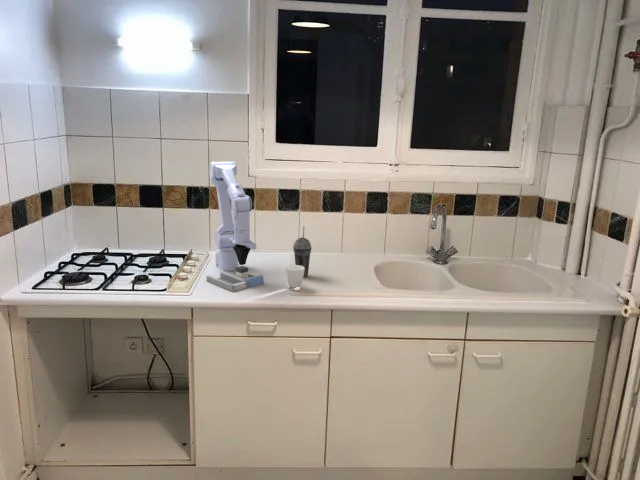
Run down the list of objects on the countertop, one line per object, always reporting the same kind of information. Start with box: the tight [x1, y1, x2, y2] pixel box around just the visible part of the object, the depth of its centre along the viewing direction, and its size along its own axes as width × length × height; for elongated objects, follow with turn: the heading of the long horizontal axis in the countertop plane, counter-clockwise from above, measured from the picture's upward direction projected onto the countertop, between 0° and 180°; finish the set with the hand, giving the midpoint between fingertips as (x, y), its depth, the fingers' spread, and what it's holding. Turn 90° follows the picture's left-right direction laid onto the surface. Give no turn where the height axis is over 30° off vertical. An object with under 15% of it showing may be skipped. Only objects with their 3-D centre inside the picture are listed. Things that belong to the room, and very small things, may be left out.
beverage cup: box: [292, 226, 312, 278], centre depth 209 cm, size 7×7×20 cm
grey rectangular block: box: [236, 265, 249, 279], centre depth 201 cm, size 3×3×5 cm
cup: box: [285, 264, 305, 291], centre depth 198 cm, size 7×10×8 cm
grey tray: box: [205, 269, 265, 293], centre depth 199 cm, size 16×15×4 cm
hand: (242, 264), depth 200 cm, fingers closed
